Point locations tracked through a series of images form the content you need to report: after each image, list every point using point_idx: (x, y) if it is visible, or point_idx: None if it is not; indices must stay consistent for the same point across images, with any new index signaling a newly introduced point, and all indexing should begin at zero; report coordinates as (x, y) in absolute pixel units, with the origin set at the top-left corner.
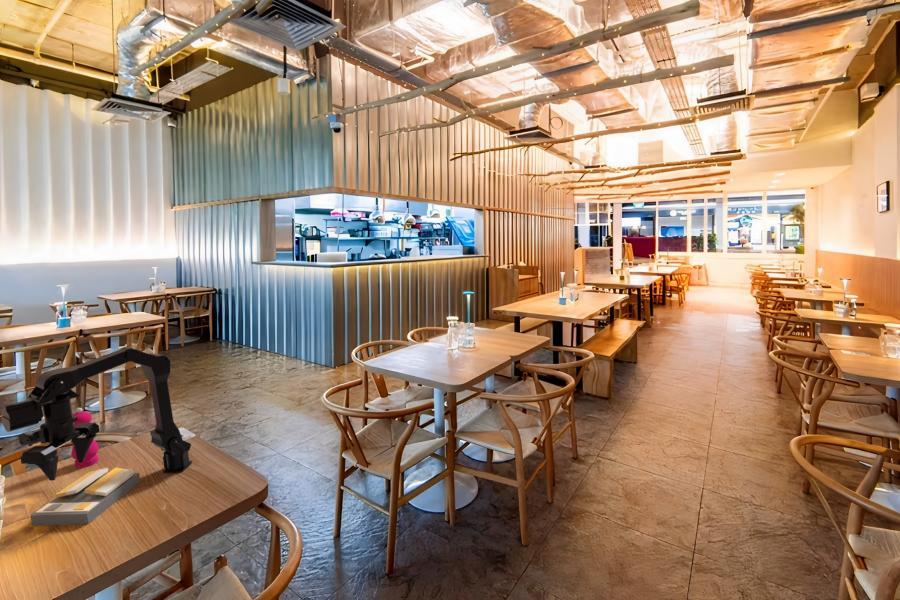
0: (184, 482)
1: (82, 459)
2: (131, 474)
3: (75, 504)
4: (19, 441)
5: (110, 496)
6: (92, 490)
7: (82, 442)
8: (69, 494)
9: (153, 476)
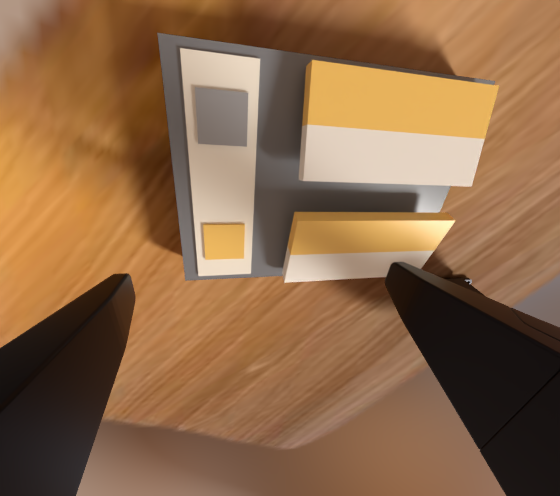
0: (354, 346)
1: (396, 304)
2: None
3: (240, 204)
4: None
5: None
6: (293, 246)
7: (544, 462)
8: (301, 140)
9: None
